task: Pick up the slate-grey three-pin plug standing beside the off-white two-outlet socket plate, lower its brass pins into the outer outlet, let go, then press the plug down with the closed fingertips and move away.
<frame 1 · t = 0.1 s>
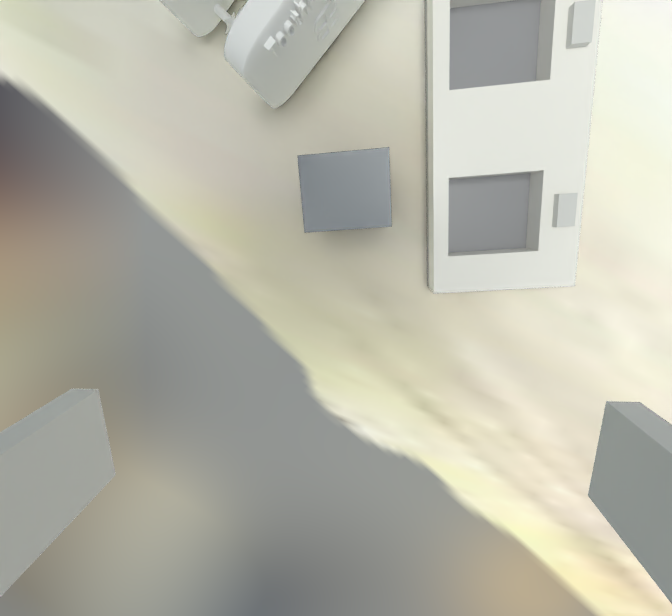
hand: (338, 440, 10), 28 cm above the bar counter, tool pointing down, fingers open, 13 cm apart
socket plate: (495, 137, 32), on the bar counter
cable organizer: (293, 4, 31), on the bar counter
plug: (351, 196, 35), on the bar counter
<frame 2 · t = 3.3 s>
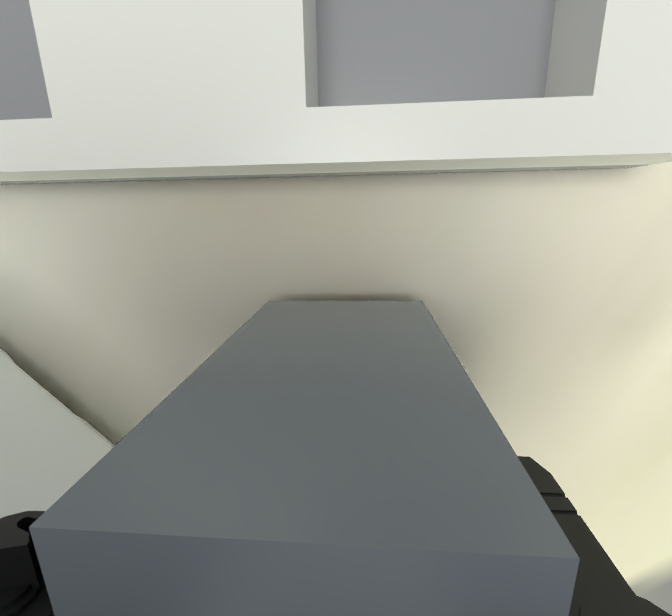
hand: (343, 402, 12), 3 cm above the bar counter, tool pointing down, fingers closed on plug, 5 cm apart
cable organizer: (1, 437, 17), on the bar counter
plug: (347, 366, 14), on the bar counter, touching gripper
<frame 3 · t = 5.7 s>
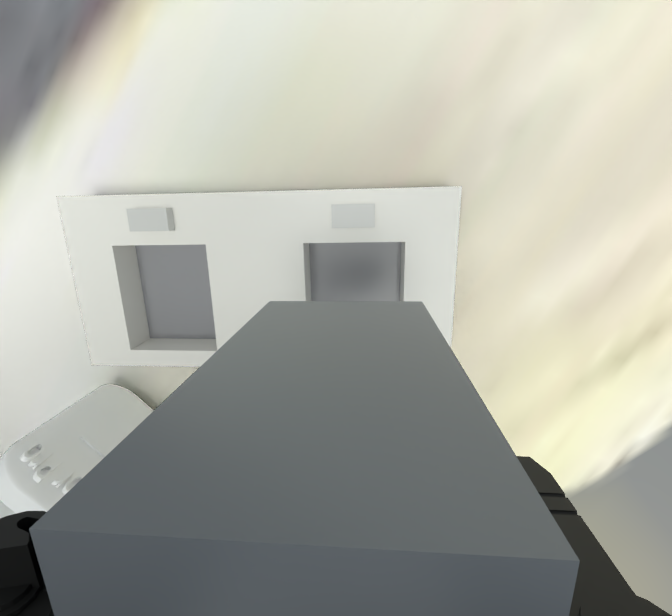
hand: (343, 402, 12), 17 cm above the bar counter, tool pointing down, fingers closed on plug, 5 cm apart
socket plate: (270, 276, 28), on the bar counter
cable organizer: (154, 459, 33), on the bar counter
plug: (347, 366, 14), point 14 cm above the bar counter, touching gripper
when the fingers open (4 cm above the bar counter, at t = 8.2 s): plug stays where it is, resting on socket plate.
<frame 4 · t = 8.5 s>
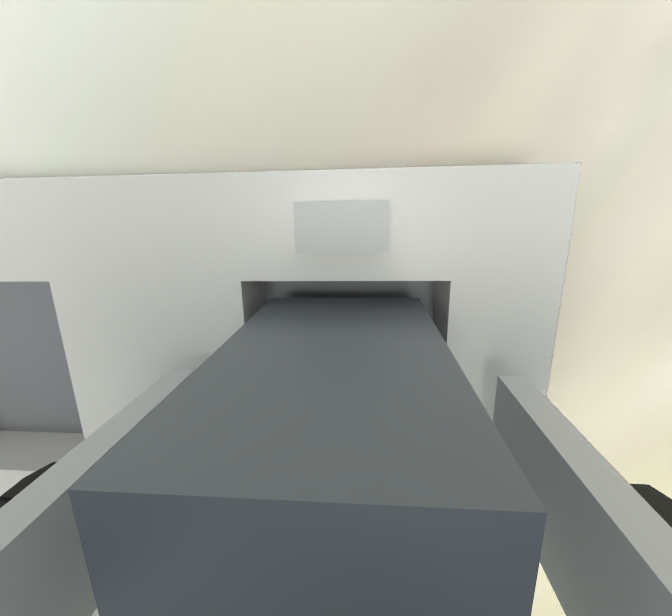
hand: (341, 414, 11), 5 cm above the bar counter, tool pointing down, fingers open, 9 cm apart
socket plate: (199, 328, 16), on the bar counter
plug: (347, 361, 15), point 1 cm above the bar counter, touching socket plate
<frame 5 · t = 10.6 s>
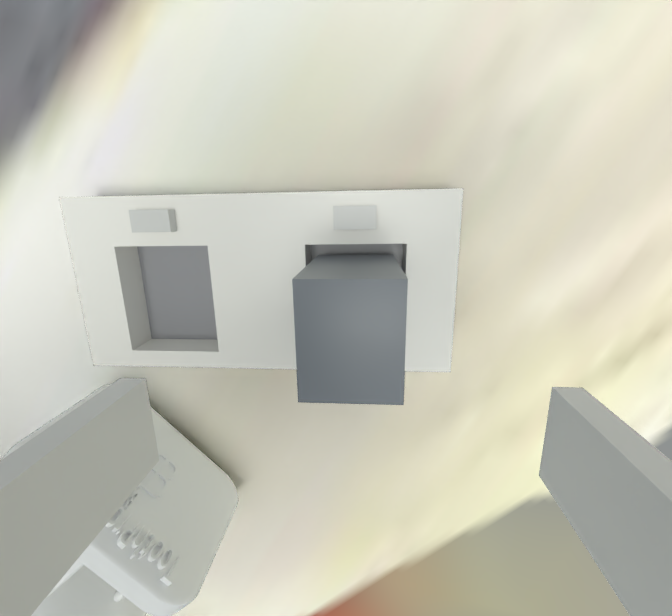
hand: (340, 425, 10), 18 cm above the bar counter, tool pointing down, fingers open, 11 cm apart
socket plate: (271, 277, 28), on the bar counter
cable organizer: (156, 459, 34), on the bar counter
plug: (356, 293, 27), point 1 cm above the bar counter, touching socket plate
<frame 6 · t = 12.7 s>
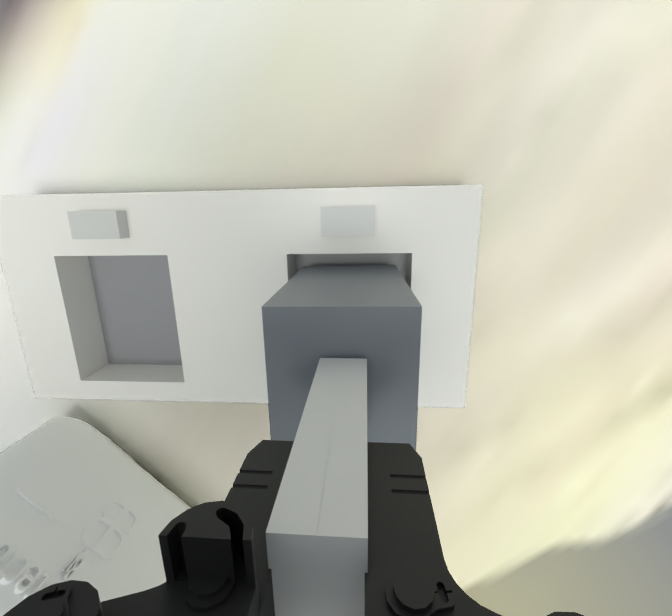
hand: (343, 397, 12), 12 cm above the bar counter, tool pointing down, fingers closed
socket plate: (250, 291, 23), on the bar counter
cable organizer: (120, 499, 29), on the bar counter
plug: (350, 311, 22), point 1 cm above the bar counter, touching gripper, socket plate
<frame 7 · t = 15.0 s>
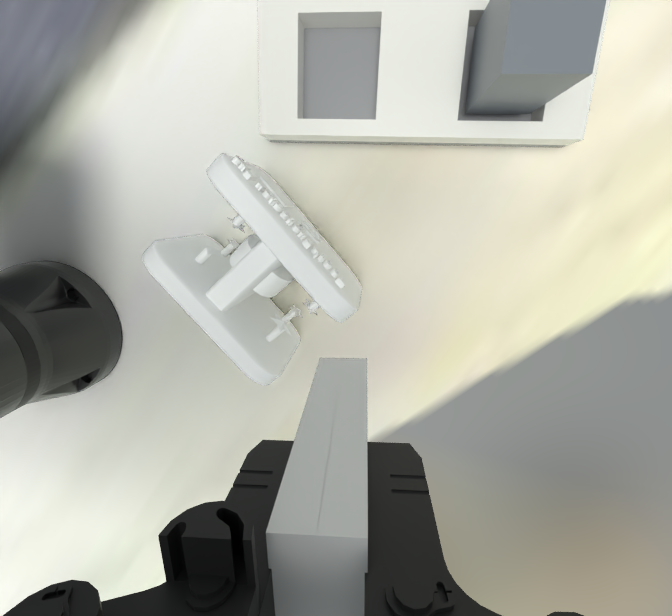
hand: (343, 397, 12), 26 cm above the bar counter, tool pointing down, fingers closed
socket plate: (416, 69, 32), on the bar counter
cable organizer: (282, 258, 37), on the bar counter
plug: (496, 78, 30), point 1 cm above the bar counter, touching socket plate
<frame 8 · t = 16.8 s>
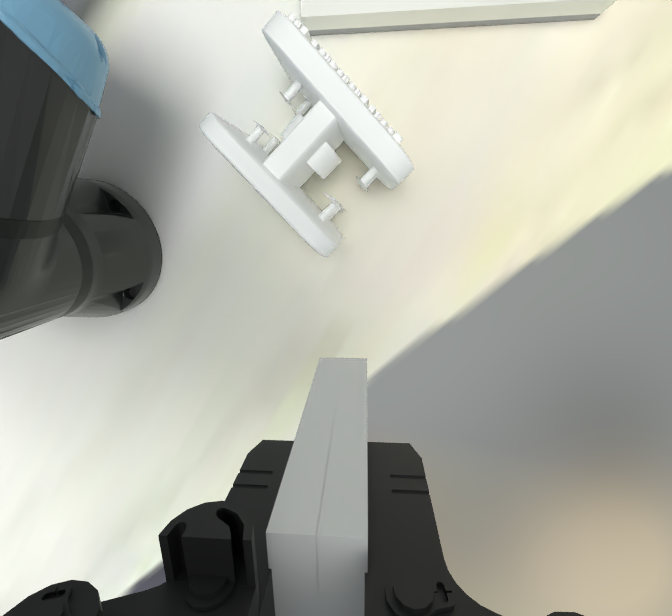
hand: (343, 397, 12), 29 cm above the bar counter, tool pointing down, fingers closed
cable organizer: (321, 159, 38), on the bar counter
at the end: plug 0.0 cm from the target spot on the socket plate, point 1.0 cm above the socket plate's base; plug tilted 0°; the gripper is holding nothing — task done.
